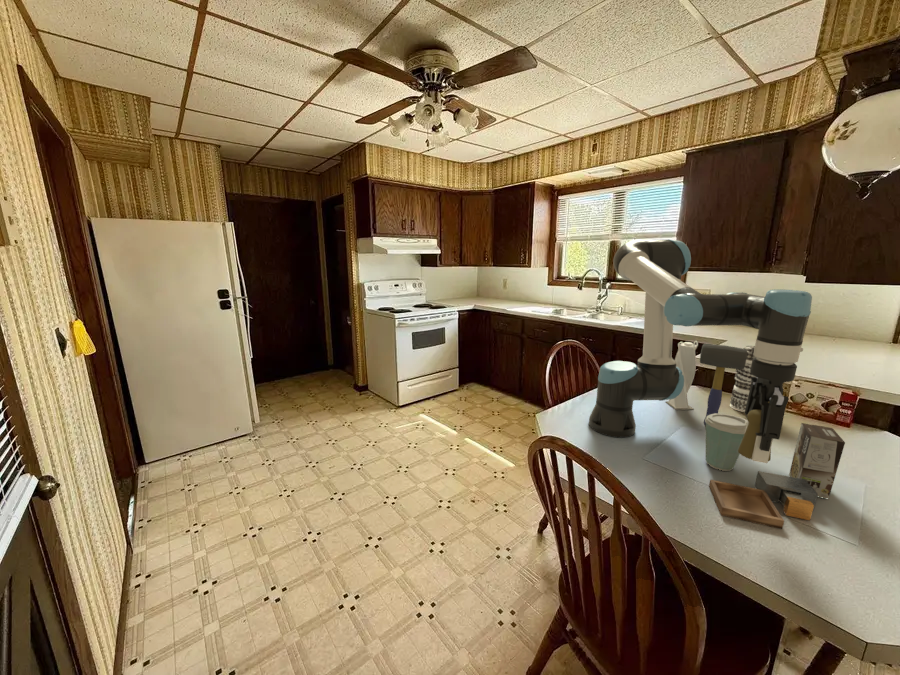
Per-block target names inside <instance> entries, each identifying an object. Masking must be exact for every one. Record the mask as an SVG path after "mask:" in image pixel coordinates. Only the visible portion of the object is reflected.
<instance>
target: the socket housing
mask: <svg viewBox="0 0 900 675" xmlns="http://www.w3.org/2000/svg"><path fill="white" fill-rule="evenodd" d="M754 488H755V489H760V490H764V491H765V492H766V493H767V495H768V496H769V498H770V499H771V501H773V503H777V502H778V503H779V502H780V501H779V497H780V493H781V489H784V490H789V491H794V492H798V494H799V495H800V496H801V498H802V499H803V500H807V501H811V502H812V504H813V505H814V508H813V509H815V506H816V503H817V502H816V501H817V498H818V497H817V495H818V494H817V492H816V491H815V490H814V489H813V488H812V486H811V485H810V484H809V483H808V482H807V481H806V480H805V479H799V478H794V477H790V476H789V475H788V476H787V475H782V474H776V473H771V472H766V471H760V470H757V475H756V478H755V483H754Z"/></svg>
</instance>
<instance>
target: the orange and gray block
mask: <svg viewBox="0 0 900 675" xmlns="http://www.w3.org/2000/svg"><path fill="white" fill-rule="evenodd" d="M778 502H780V504H781V505H782V507H783V513H784V514H785V516H788V517H793V518H795V519H796V518H797V519H802V520H806V521H810V520H811V518H812V515H813V511H814V510H813V508H814V509H815V506H814V505H813V504H812V502H811V501H807V500H803V499H802V498H801V496H800V495H799V494H798V492H794V491H789V490H784V489H781V493H780V497H779V501H778Z"/></svg>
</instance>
